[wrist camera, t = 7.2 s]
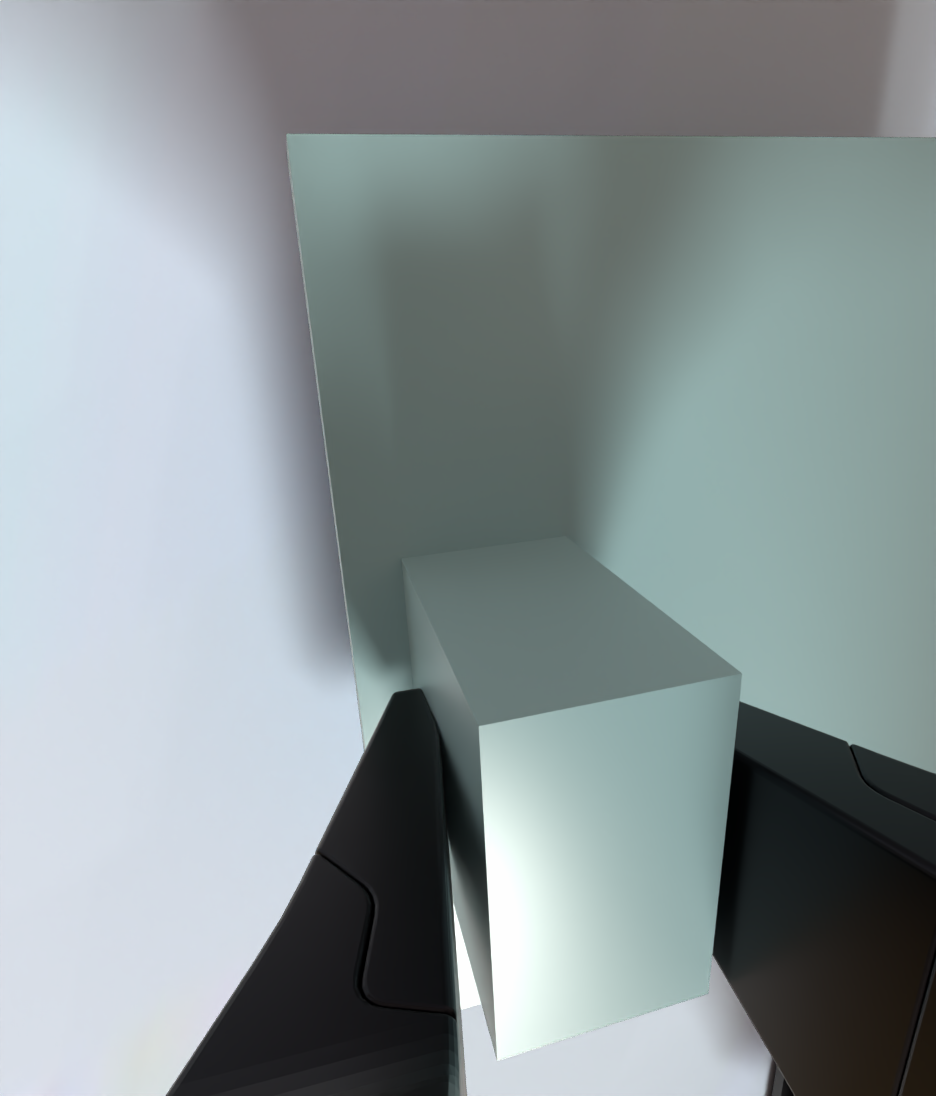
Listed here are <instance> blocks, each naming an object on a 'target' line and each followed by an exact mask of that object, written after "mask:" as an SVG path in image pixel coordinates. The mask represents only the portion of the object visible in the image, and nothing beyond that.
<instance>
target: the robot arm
mask: <svg viewBox="0 0 936 1096" xmlns="http://www.w3.org/2000/svg"><path fill="white" fill-rule="evenodd" d="M712 955H713V956H714V958H715V960H716V962H717V963H718V965H719V967H720V968H721V970H722V972H723V974H724V975H725V977H726V979H727V980H728V982H729V984H730V986H731V987H732V989H733V991H734V992H735V994H736V996H737V998H738V999H739V1001H740V1003H741V1005H742V1006H743V1008H744V1010H745V1011H746V1013H747V1015H748V1017H749V1018H750V1020H751V1022H752V1023H753V1025H754V1027H755V1029H756V1030H757V1032H758V1034H759V1035H760V1037H761V1039H762V1041H763V1042H764V1044H765V1046H766V1047H767V1049H768V1051H769V1053H770V1054H771V1056H772V1058H773V1059H774V1061H775V1063H776V1065H777V1068H776V1074H775V1080H774V1085H773V1091H772V1096H936V774H935V773H932V772H929V771H926V770H924V769H921V768H918V767H915V766H912V765H910V764H907V763H904V762H901V761H899V760H896V759H893V758H890V757H887V756H885V755H882V754H879V753H877V752H874V751H871V750H869V749H866V748H864V747H861V746H858V745H856V744H851V745H850V746H849V744H848V742H847V741H845V740H842V739H839V738H837V737H834V736H831V735H829V734H826V733H823V732H821V731H818V730H815V729H813V728H810V727H807V726H805V725H802V724H799V723H797V722H794V721H791V720H789V719H786V718H783V717H781V716H778V715H775V714H773V713H770V712H767V711H765V710H762V709H760V708H757V707H754V706H752V705H749V704H746V703H744V702H741V701H739V708H738V718H737V727H736V737H735V746H734V755H733V765H732V774H731V784H730V793H729V802H728V812H727V821H726V831H725V840H724V849H723V859H722V868H721V878H720V887H719V897H718V906H717V915H716V925H715V934H714V944H713V953H712ZM166 1096H467V1089H466V1075H465V1061H464V1047H463V1033H462V1019H461V1005H460V992H459V978H458V964H457V950H456V936H455V922H454V908H453V894H452V880H451V867H450V854H449V842H448V829H447V817H446V804H445V792H444V780H443V767H442V755H441V743H440V735H439V732H438V728H437V726H436V723H435V720H434V717H433V715H432V712H431V709H430V707H429V704H428V702H427V700H426V697H425V695H424V693H423V691H422V689H420V688H416V689H410V690H404V691H398V692H395V693H393V694H392V696H391V698H390V700H389V702H388V704H387V706H386V708H385V710H384V712H383V714H382V716H381V718H380V720H379V723H378V725H377V727H376V729H375V731H374V733H373V735H372V737H371V739H370V741H369V743H368V745H367V747H366V749H365V751H364V753H363V755H362V757H361V759H360V761H359V763H358V765H357V767H356V769H355V772H354V774H353V776H352V778H351V780H350V782H349V784H348V786H347V788H346V790H345V792H344V794H343V796H342V798H341V800H340V802H339V804H338V806H337V808H336V810H335V812H334V814H333V816H332V818H331V821H330V823H329V825H328V827H327V829H326V831H325V833H324V835H323V837H322V839H321V841H320V843H319V845H318V847H317V849H316V851H315V855H314V856H313V857H312V859H311V861H310V863H309V865H308V867H307V869H306V871H305V873H304V875H303V877H302V879H301V881H300V883H299V885H298V887H297V889H296V891H295V892H294V894H293V896H292V898H291V900H290V902H289V904H288V906H287V907H286V909H285V911H284V913H283V915H282V917H281V919H280V920H279V922H278V924H277V925H276V927H275V928H274V930H273V932H272V933H271V935H270V936H269V938H268V940H267V941H266V943H265V944H264V946H263V948H262V949H261V951H260V952H259V954H258V956H257V957H256V959H255V960H254V962H253V964H252V965H251V967H250V968H249V970H248V971H247V973H246V974H245V976H244V977H243V979H242V980H241V982H240V984H239V985H238V987H237V988H236V990H235V991H234V993H233V994H232V996H231V997H230V999H229V1000H228V1002H227V1003H226V1005H225V1006H224V1008H223V1009H222V1011H221V1012H220V1014H219V1015H218V1017H217V1019H216V1020H215V1022H214V1023H213V1025H212V1026H211V1028H210V1029H209V1031H208V1032H207V1034H206V1035H205V1037H204V1038H203V1040H202V1041H201V1043H200V1044H199V1046H198V1047H197V1049H196V1050H195V1052H194V1054H193V1055H192V1057H191V1058H190V1060H189V1061H188V1063H187V1064H186V1066H185V1067H184V1069H183V1070H182V1072H181V1073H180V1075H179V1076H178V1078H177V1079H176V1081H175V1082H174V1084H173V1085H172V1087H171V1088H170V1090H169V1091H168V1093H167V1094H166Z"/></svg>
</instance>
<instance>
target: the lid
mask: <svg viewBox="0 0 936 1096" xmlns="http://www.w3.org/2000/svg"><path fill="white" fill-rule="evenodd" d="M286 141H287V160H288V167H289V175H290V183H291V191H292V198H293V206H294V214H295V222H296V229H297V237H298V245H299V252H300V260H301V268H302V276H303V283H304V291H305V299H306V307H307V314H308V322H309V330H310V337H311V345H312V353H313V361H314V368H315V376H316V384H317V391H318V399H319V407H320V415H321V422H322V430H323V438H324V446H325V453H326V461H327V469H328V476H329V484H330V492H331V500H332V507H333V515H334V523H335V530H336V538H337V546H338V554H339V561H340V569H341V577H342V585H343V592H344V600H345V608H346V615H347V623H348V631H349V639H350V646H351V654H352V662H353V669H354V677H355V685H356V693H357V700H358V708H359V716H360V724H361V731H362V739H363V747H364V751H365V749H366V747H367V745H368V743H369V741H370V739H371V737H372V735H373V733H374V731H375V729H376V727H377V725H378V723H379V720H380V718H381V716H382V714H383V712H384V710H385V708H386V706H387V704H388V702H389V700H390V698H391V696H392V694H393V693H395V692H398V691H404V690H410V689H416V688H420V689H422V691H423V693H424V695H425V697H426V700H427V702H428V704H429V707H430V709H431V712H432V715H433V717H434V720H435V723H436V726H437V728H438V732H439V735H440V743H441V755H442V767H443V780H444V792H445V804H446V817H447V829H448V842H449V854H450V867H451V880H452V894H453V908H454V922H455V936H456V950H457V964H458V978H459V992H460V1005H461V1010H462V1009H465V1008H469V1007H472V1006H475V1005H479V1004H482V1008H483V1012H484V1015H485V1019H486V1022H487V1026H488V1030H489V1033H490V1037H491V1040H492V1044H493V1048H494V1051H495V1055H496V1058H497V1061H499V1060H502V1059H505V1058H508V1057H511V1056H515V1055H518V1054H521V1053H524V1052H527V1051H530V1050H533V1049H537V1048H540V1047H543V1046H546V1045H549V1044H552V1043H555V1042H558V1041H562V1040H565V1039H568V1038H571V1037H574V1036H577V1035H580V1034H584V1033H587V1032H590V1031H593V1030H596V1029H599V1028H602V1027H605V1026H609V1025H612V1024H615V1023H618V1022H621V1021H624V1020H627V1019H630V1018H634V1017H637V1016H640V1015H643V1014H646V1013H649V1012H652V1011H656V1010H659V1009H662V1008H665V1007H668V1006H671V1005H674V1004H677V1003H681V1002H684V1001H687V1000H690V999H693V998H696V997H699V996H703V995H706V994H708V991H709V981H710V972H711V962H712V953H713V944H714V934H715V925H716V915H717V906H718V897H719V887H720V878H721V868H722V859H723V849H724V840H725V831H726V821H727V812H728V802H729V793H730V784H731V774H732V765H733V755H734V746H735V737H736V727H737V718H738V708H739V701H741V702H744V703H746V704H749V705H752V706H754V707H757V708H760V709H762V710H765V711H767V712H770V713H773V714H775V715H778V716H781V717H783V718H786V719H789V720H791V721H794V722H797V723H799V724H802V725H805V726H807V727H810V728H813V729H815V730H818V731H821V732H823V733H826V734H829V735H831V736H834V737H837V738H839V739H842V740H845V741H847V742H848V744H849V746H850V745H851V744H856V745H858V746H861V747H864V748H866V749H869V750H871V751H874V752H877V753H879V754H882V755H885V756H887V757H890V758H893V759H896V760H899V761H901V762H904V763H907V764H910V765H912V766H915V767H918V768H921V769H924V770H926V771H929V772H932V773H935V774H936V138H920V137H754V136H589V135H423V134H286Z"/></svg>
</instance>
